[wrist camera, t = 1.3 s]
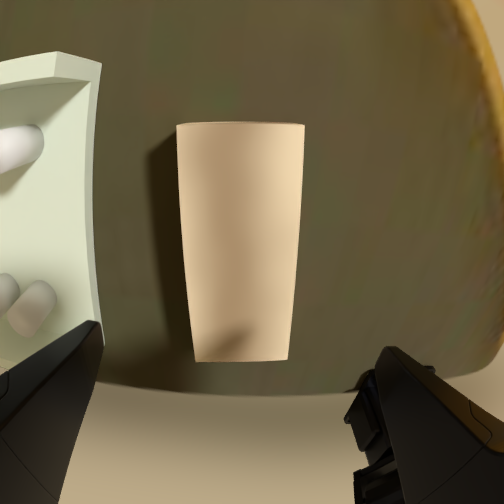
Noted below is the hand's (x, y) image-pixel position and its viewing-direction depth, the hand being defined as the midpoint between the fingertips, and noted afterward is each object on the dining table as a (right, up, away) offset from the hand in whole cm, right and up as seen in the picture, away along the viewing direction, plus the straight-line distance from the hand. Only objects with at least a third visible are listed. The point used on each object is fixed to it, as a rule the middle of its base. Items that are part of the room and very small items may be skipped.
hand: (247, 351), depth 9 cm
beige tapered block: (-1, +4, +8) cm, 9 cm away
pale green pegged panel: (-13, +5, +6) cm, 15 cm away
